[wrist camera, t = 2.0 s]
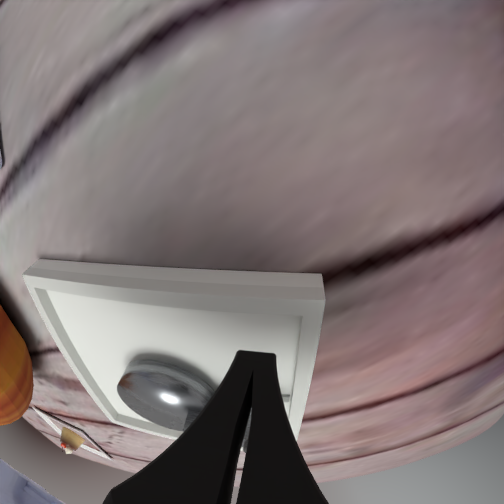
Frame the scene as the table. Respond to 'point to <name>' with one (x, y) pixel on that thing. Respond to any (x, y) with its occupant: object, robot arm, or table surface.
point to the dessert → (71, 436)
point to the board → (178, 325)
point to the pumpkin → (13, 372)
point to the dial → (166, 394)
